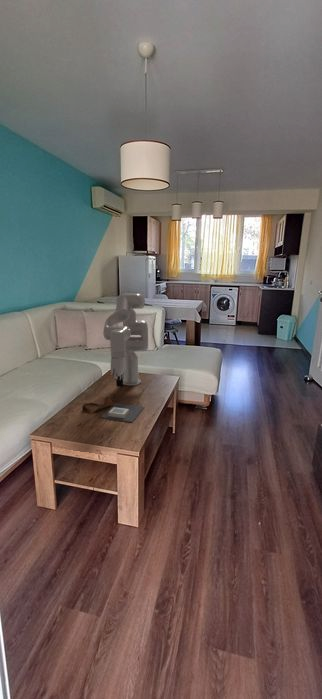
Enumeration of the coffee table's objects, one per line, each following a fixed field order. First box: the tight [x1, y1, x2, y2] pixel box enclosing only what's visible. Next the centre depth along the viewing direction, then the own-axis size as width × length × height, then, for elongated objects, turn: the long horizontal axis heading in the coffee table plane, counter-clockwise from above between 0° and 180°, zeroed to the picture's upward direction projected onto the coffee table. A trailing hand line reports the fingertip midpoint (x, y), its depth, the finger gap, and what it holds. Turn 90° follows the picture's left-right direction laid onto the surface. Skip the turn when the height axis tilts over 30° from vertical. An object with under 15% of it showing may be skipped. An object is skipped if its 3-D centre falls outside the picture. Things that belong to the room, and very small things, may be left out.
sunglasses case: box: [81, 396, 115, 415], centre depth 186 cm, size 18×7×7 cm
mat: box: [100, 402, 145, 424], centre depth 179 cm, size 18×18×1 cm
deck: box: [108, 407, 129, 418], centre depth 175 cm, size 2×9×6 cm
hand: (119, 386), depth 175 cm, fingers closed
